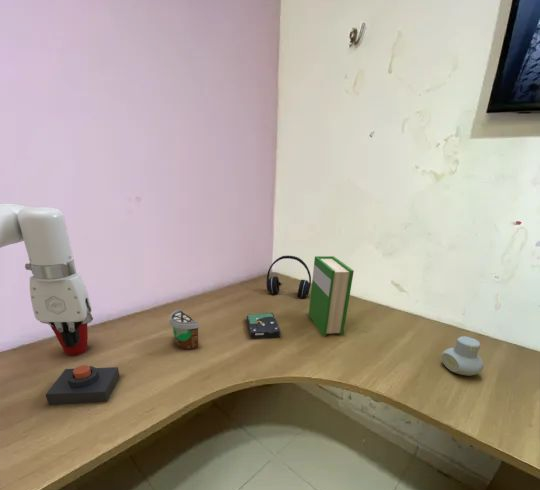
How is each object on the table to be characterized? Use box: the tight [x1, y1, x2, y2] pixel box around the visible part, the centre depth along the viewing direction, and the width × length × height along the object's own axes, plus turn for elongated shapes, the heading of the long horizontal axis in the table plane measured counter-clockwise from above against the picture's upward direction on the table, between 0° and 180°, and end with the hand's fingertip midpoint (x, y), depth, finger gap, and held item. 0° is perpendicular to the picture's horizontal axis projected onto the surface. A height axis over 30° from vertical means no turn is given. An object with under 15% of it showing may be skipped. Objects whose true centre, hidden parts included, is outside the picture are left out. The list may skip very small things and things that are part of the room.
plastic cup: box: [47, 323, 89, 356], centre depth 92 cm, size 11×11×12 cm
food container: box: [169, 308, 200, 350], centre depth 98 cm, size 12×6×10 cm, turn 40°
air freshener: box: [441, 335, 485, 377], centre depth 92 cm, size 11×8×10 cm
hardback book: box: [308, 255, 355, 337], centre depth 112 cm, size 18×7×24 cm, turn 11°
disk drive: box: [246, 312, 281, 339], centre depth 112 cm, size 10×3×15 cm
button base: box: [45, 365, 121, 406], centre depth 77 cm, size 13×10×5 cm
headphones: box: [266, 255, 312, 298], centre depth 139 cm, size 20×7×18 cm, turn 77°
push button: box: [73, 364, 91, 379], centre depth 76 cm, size 4×4×2 cm
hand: (72, 344), depth 73 cm, fingers closed
